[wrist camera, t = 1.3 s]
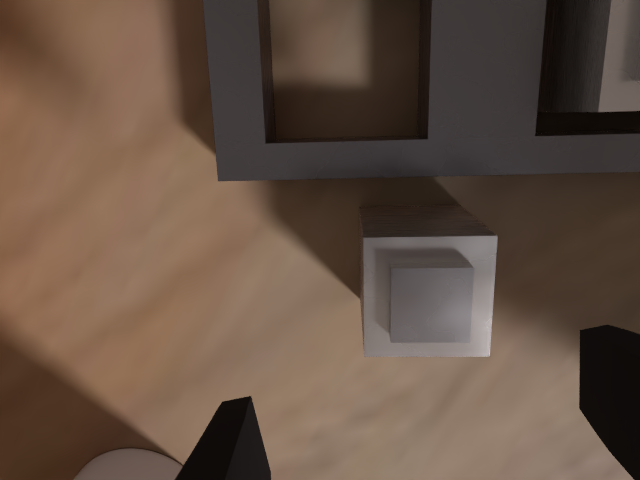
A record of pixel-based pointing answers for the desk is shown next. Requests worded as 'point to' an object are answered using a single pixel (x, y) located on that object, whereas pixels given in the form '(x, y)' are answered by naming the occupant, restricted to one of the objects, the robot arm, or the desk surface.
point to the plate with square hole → (433, 103)
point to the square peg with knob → (590, 56)
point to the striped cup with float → (130, 466)
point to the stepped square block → (426, 281)
